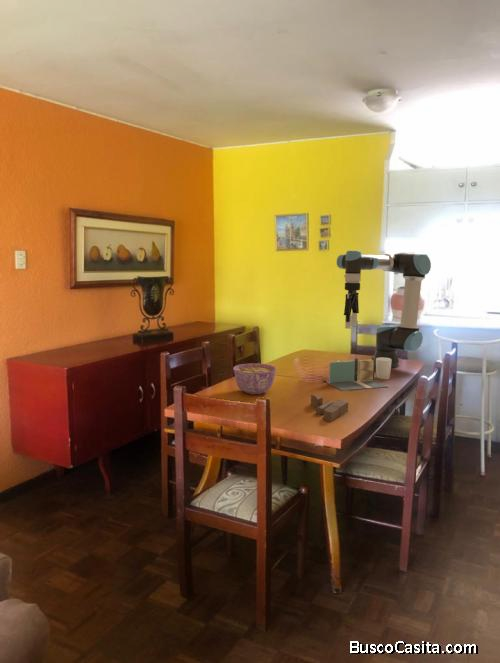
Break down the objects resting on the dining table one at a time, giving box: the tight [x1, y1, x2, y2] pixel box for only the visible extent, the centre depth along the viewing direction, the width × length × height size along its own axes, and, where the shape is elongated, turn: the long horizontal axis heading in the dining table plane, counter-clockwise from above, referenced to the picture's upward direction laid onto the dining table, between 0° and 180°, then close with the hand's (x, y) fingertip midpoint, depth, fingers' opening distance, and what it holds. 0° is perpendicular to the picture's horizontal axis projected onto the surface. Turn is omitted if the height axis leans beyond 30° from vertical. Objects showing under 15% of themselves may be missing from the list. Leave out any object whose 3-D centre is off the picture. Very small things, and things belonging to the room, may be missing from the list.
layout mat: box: [327, 377, 389, 392], centre depth 258 cm, size 25×20×1 cm
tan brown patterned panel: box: [354, 356, 376, 381], centre depth 263 cm, size 11×2×12 cm, turn 107°
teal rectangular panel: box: [328, 360, 355, 382], centre depth 259 cm, size 13×2×10 cm, turn 107°
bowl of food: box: [232, 362, 277, 395], centre depth 241 cm, size 20×20×12 cm
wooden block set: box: [310, 394, 349, 423], centre depth 211 cm, size 17×6×18 cm
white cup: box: [375, 357, 392, 380], centre depth 271 cm, size 8×8×10 cm
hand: (351, 327), depth 261 cm, fingers open, 9 cm apart
